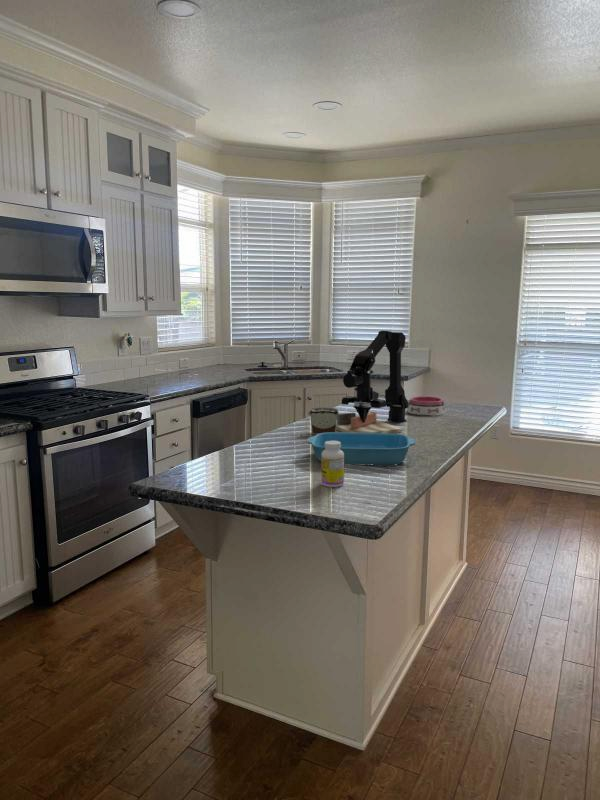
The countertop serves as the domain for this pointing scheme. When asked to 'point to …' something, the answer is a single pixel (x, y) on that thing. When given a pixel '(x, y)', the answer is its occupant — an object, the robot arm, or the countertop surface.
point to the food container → (323, 420)
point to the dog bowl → (426, 405)
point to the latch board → (375, 427)
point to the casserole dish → (365, 447)
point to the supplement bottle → (332, 465)
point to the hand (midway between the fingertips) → (363, 422)
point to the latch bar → (370, 419)
